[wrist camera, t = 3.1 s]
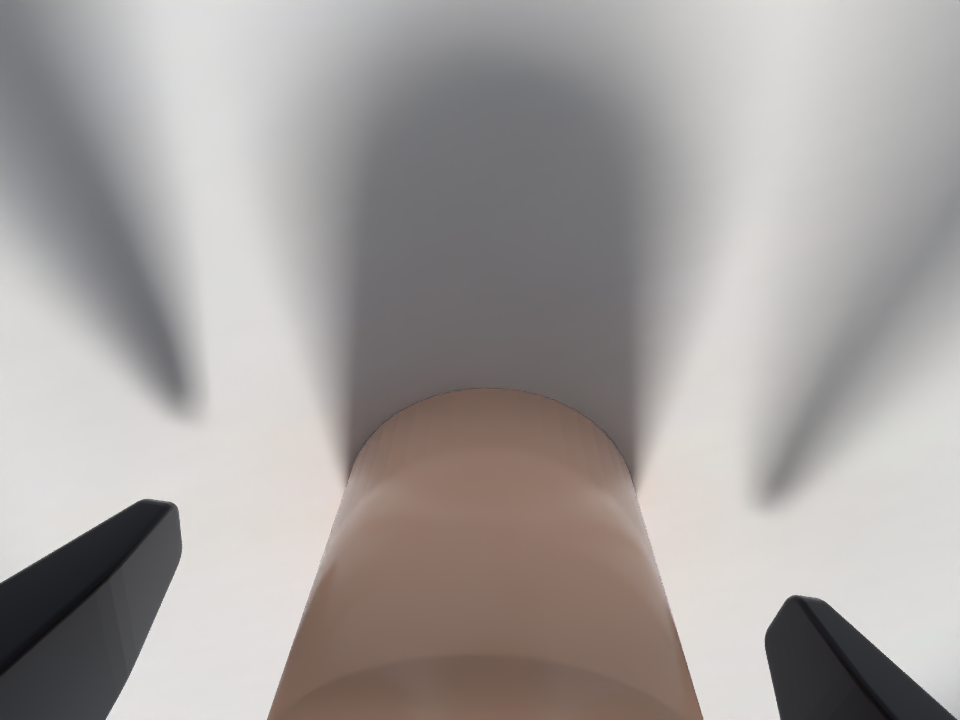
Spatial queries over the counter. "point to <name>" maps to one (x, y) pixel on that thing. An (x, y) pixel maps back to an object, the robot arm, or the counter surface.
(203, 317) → the counter surface
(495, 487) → the peach rounded cylinder
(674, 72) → the counter surface
